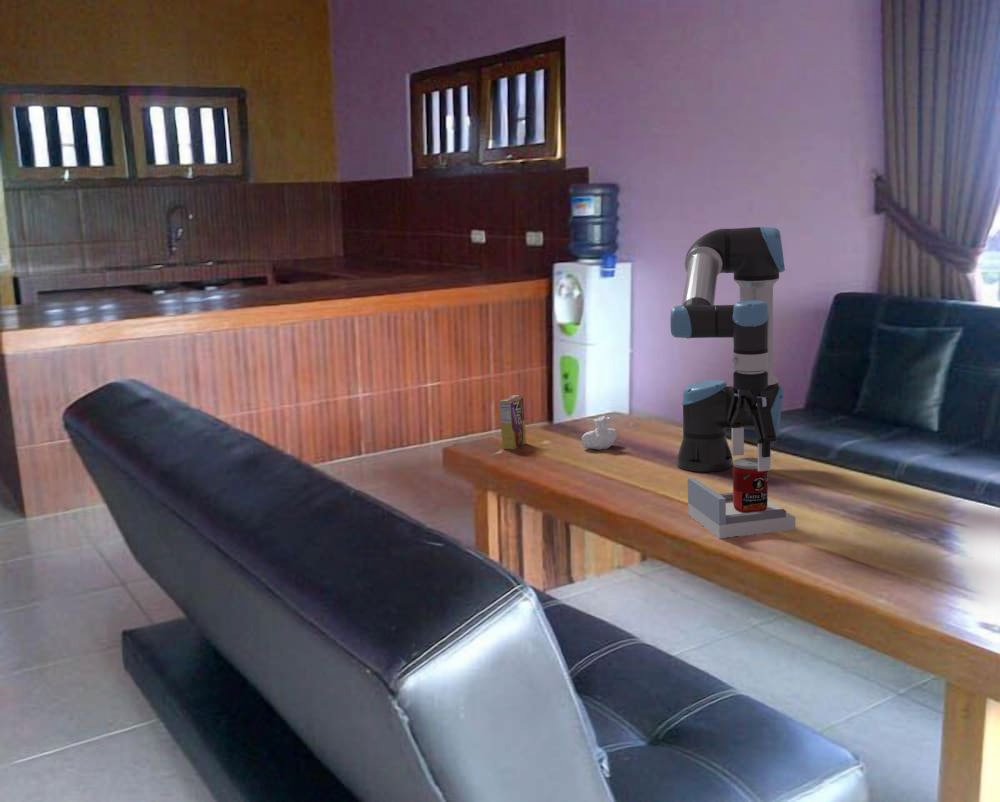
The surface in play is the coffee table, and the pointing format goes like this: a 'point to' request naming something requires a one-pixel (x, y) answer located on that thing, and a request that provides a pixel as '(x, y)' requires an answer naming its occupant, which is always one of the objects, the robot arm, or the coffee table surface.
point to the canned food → (749, 486)
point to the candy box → (512, 422)
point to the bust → (600, 435)
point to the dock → (733, 514)
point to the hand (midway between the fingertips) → (750, 462)
